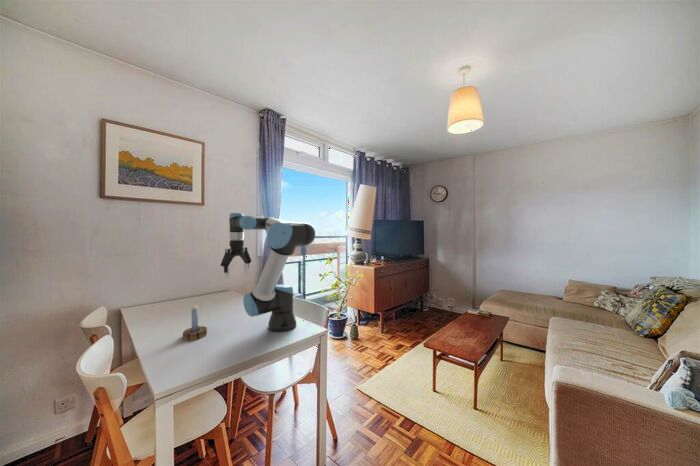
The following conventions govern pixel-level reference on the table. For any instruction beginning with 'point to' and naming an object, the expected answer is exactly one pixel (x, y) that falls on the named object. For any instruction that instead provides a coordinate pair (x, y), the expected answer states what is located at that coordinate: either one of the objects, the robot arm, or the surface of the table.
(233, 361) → the table surface
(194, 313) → the dowel
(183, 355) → the table surface
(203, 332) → the wooden gear
